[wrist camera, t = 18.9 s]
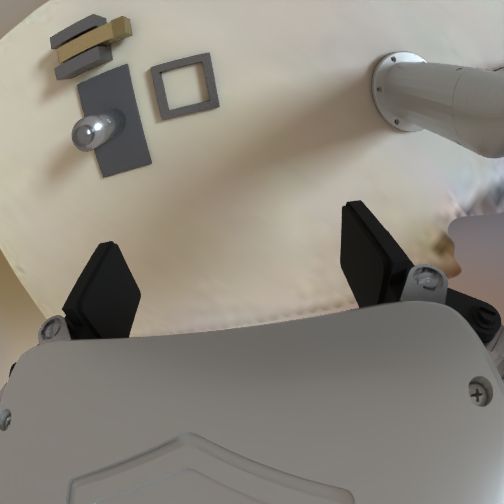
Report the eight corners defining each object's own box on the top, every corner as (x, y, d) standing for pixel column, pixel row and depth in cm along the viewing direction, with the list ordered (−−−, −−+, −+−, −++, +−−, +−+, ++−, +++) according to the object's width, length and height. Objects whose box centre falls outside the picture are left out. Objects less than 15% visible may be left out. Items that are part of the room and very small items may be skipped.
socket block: (105, 18, 23) (93, 14, 19) (112, 59, 27) (100, 58, 23) (64, 38, 23) (49, 37, 20) (71, 78, 27) (56, 80, 24)
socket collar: (209, 53, 28) (209, 52, 27) (219, 106, 32) (219, 107, 32) (152, 67, 28) (150, 67, 28) (163, 119, 33) (162, 120, 32)
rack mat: (127, 63, 27) (126, 63, 27) (151, 162, 36) (150, 164, 36) (78, 84, 28) (77, 84, 27) (104, 176, 36) (103, 177, 36)
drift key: (129, 19, 23) (122, 16, 21) (132, 35, 24) (125, 32, 22) (66, 48, 23) (56, 48, 21) (68, 63, 25) (59, 64, 22)
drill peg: (121, 104, 30) (90, 113, 23) (129, 130, 32) (101, 146, 25) (97, 114, 30) (63, 127, 23) (105, 139, 33) (74, 158, 25)
